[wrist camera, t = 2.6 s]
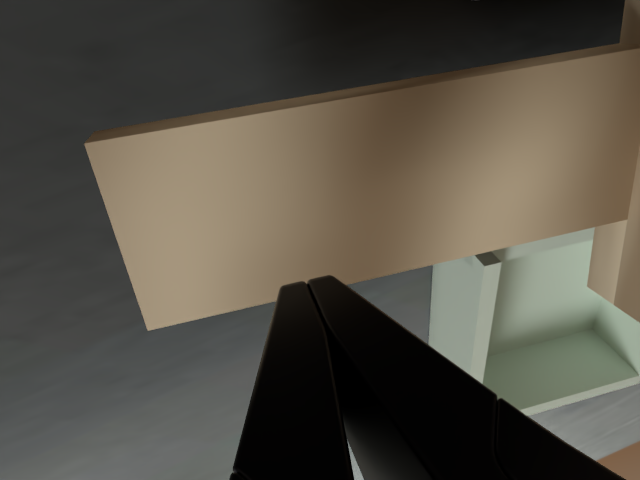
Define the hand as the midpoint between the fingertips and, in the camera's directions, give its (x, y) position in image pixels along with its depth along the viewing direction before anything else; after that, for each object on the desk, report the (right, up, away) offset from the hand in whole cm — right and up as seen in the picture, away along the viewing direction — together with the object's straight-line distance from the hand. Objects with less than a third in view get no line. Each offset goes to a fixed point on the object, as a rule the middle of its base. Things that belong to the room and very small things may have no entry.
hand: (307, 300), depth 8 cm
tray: (+9, -1, +14) cm, 16 cm away
